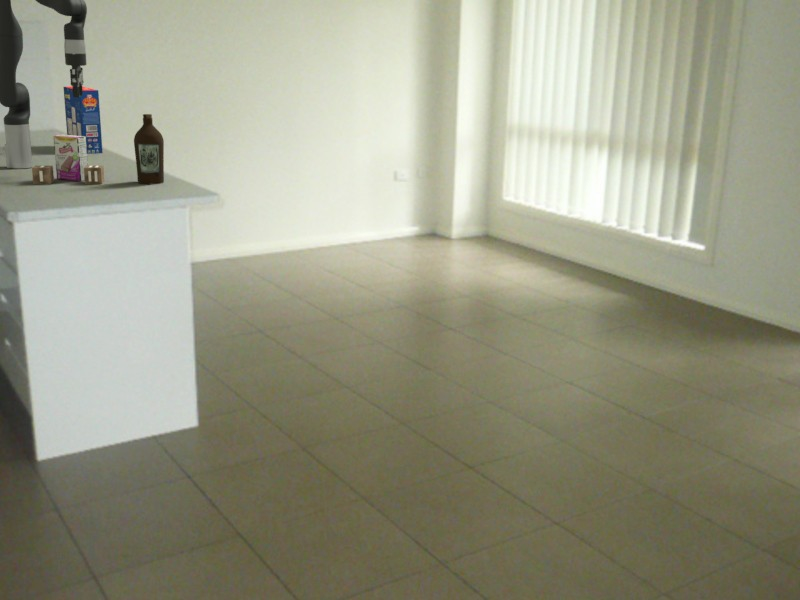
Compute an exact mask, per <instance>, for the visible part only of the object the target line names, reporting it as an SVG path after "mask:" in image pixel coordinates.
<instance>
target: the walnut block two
mask: <svg viewBox="0 0 800 600" xmlns="http://www.w3.org/2000/svg"><path fill="white" fill-rule="evenodd" d="M104 169H105V168H104V165H88V166H86V167H84V178H85V181H84V185H103V184H104V183H105V171H104Z"/></svg>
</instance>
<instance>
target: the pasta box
mask: <svg viewBox="0 0 800 600" xmlns="http://www.w3.org/2000/svg"><path fill="white" fill-rule="evenodd" d="M82 88H83V95H82V96H79V97H73V87H72V86H63V100H64V110H65V122H66V125H65V126H66V135H74V136H85V137H86V147H87V155H90V154H91V155H94V154H103V152H104V151H103V141H102V140H103V139H102V138H103V137H102V125H101V111H100V108H101V107H100V95H99V90H98V89H94V88H90V87H85V86H82Z"/></svg>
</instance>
